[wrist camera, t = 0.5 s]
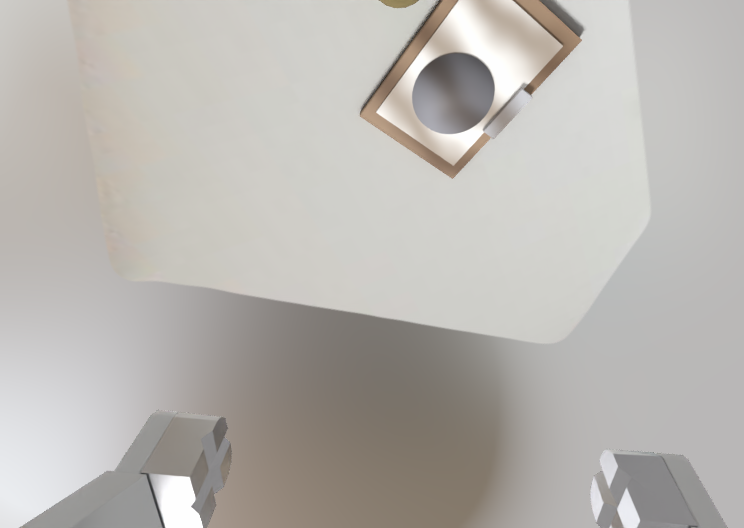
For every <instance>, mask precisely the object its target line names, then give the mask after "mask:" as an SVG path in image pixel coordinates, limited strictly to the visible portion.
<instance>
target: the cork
mask: <svg viewBox="0 0 744 528" xmlns="http://www.w3.org/2000/svg"><path fill="white" fill-rule="evenodd" d="M379 1H381V2H382V3H384V4H385V5H387V6H390V7H393V8H405V7H408V6H410V5H413V4H415V3H416V2H417V1H418V0H379Z"/></svg>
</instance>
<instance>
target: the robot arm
mask: <svg viewBox="0 0 744 528" xmlns="http://www.w3.org/2000/svg"><path fill="white" fill-rule="evenodd" d="M227 429H228V427H227V423H226V419H225V418H224V417H220V416H211V415H202V414H193V413H184V412H173V411H163V410H157V411H156V412H155V413H153V414H152V415H151V416H150V417H149V419H148V421H147V422H146V424H145V425H144V427H143V428H142V429H141V431H140V433H139V434H138V436H137V437H136V439H135V440H134V442H133V443H132V445H131V446H130V448H129V449H128V451H127V452H126V454H125V455H124V457H123V458H122V460H121V462H120V463H119V465H118V466H117V468H116V469H115V471H106V472H105V473H103V474H102V475H100V476H99V477H97V478H96V479H94V480H92V481H91V482H89V483H88V484H86V485H85V486H83V487H82V488H80V489H79V490H77V491H75V492H74V493H72V494H71V495H69V496H68V497H66V498H65V499H63V500H61V501H60V502H59V503H57V504H55V505H54V506H52V507H51V508H49V509H48V510H46V511H44V512H43V513H42V514H40V515H38V516H37V517H35V518H34V519H32V520H31V521H29V522H27V523H26V524H24V525H23V526H21V527H20V528H207V526H208V524H209V522H210V519H211V517H212V514H213V512H214V509H215V507H216V502H215V498H214V494H215V493H217V492H218V491H219V490H220V489H222V488H223V487H224V485H225V482H226V480H227V477H228V474H229V470H230V465H231V457H232V456H231V455H232V450H231V444H230V442H229V441H228V440H227V439H226V438H225V437H224V436H225V434H226V431H227ZM599 462H600V464H601V467H602V471H600V472H599V473H597V474H596V475H594V478H593V481H592V484H591V505H592V511H593V514H594V517H595V521H596V523H597V524H598V525H599V526H600V527H601V528H728V527H727V526H726V524H725V522H724V521H723V519H722V517H721V516H720V514H719V512H718V510H717V509H716V507H715V505H714V503H713V502H712V500H711V498H710V496H709V495H708V493H707V491H706V490H705V488H704V486H703V484H702V483H701V481H700V480H699V477H698V476H697V474H696V472H695V470H694V469H693V467H692V465H691V463H690V462H689V460H688V459H687V458H686V457H684V456H683V455H674V454H661V453H652V452H639V451H625V450H611V449H606V450H605V451H604V452H603V453H602V455H601V458H600V460H599Z"/></svg>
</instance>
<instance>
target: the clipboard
mask: <svg viewBox="0 0 744 528" xmlns="http://www.w3.org/2000/svg"><path fill="white" fill-rule="evenodd" d="M581 41H582V40H581V39H580V38H579V37H578V36H577V35H576V34H575V33H574V32H573V31H572V30H571V29H570V28H568V27H567V26H566V25H565V24H564V23H563V22H562V21H561V20H560V19H559V18H558V17H557V16H556V15H554V14H553V13H552V12H551V11H550V10H549V9H548V8H547V7H546V6H545V5H544V4H543V3H542V2H540V1H539V0H441V1H440V3H439V4H438V5H437V7H436V8H435V10H434V11H433V12H432V14H431V15H430V16H429V18H428V19H427V21H426V22H425V23H424V25H423V26H422V28H421V29H420V30H419V32H418V33H417V35H416V36H415V37H414V39H413V40H412V42H411V43H410V44H409V46H408V47H407V48H406V50H405V51H404V53H403V54H402V55H401V57H400V58H399V60H398V61H397V62H396V64H395V65H394V67H393V68H392V69H391V71H390V72H389V74H388V75H387V76H386V78H385V79H384V80H383V82H382V83H381V85H380V86H379V87H378V89H377V90H376V92H375V93H374V94H373V96H372V97H371V99H370V100H369V101H368V103H367V104H366V106H365V107H364V108H363V110H362V111H361V112H360V117H362V118H363V119H365V120H366V121H368V122H369V123H371V124H372V125H374V126H375V127H377V128H378V129H380V130H381V131H383V132H384V133H385V134H387V135H388V136H390V137H391V138H393V139H394V140H396V141H397V142H399V143H400V144H402V145H403V146H405V147H406V148H408V149H409V150H411V151H412V152H414V153H415V154H417V155H418V156H420V157H421V158H423V159H424V160H425V161H427V162H428V163H430V164H431V165H433V166H434V167H436V168H437V169H439V170H440V171H442V172H443V173H445V174H446V175H448V176H449V177H451V178H452V179H453V178H454V177H455V176H456V175H457V174H458V172H459V171H460V170H461V169H462V168H463V167H464V166H465V165H466V164H467V163H468V162H469V161H470V160H471V159H472V157H473V156H474V155H475V154H476V153H477V152H478V151H479V150H480V149H481V148H482V147H483V146H484V145H485V144H486V142H487V141H488V140H489V139H490V138H493V139H494V138H495V137H496V136H497V135H498V134H499V133H500V132H501V131H502V130H503V129H504V128H505V127H506V126H507V124H508V123H509V122H510V121H511V120H512V119H513V118H514V117H515V116H516V115H517V114H518V113H519V112H520V111H521V110H522V108H523V107H524V106H525V105H526V104H527V103H528V102H529V101H530V100H531V99H532V96H531V94H532V93H533V92H534V91H535V90H536V89H537V88H538V87H539V86H540V85H541V84H542V82H543V81H544V80H545V79H546V78H547V77H548V76H549V75H550V74H551V73H552V72H553V71H554V70H555V69H556V67H557V66H558V65H559V64H560V63H561V62H562V61H563V60H564V59H565V58H566V57H567V56H568V55H569V54H570V52H571V51H572V50H573V49H574V48H575V47H576V46H577V45H578V44H579V43H580V42H581Z"/></svg>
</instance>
